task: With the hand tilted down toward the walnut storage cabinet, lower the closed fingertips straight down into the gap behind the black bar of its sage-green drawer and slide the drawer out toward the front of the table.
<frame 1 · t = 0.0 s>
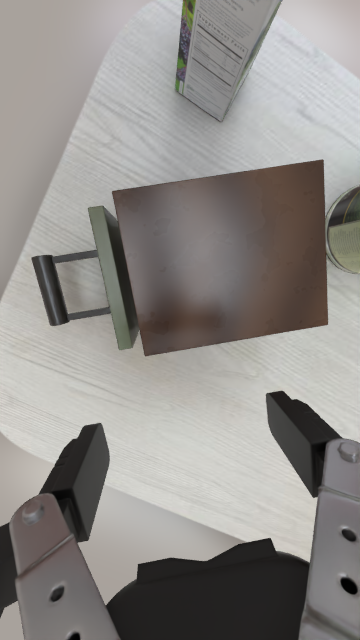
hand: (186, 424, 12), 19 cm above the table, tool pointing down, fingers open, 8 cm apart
syrup box: (212, 82, 25), on the table
cabinet: (207, 264, 29), on the table
drawer: (153, 274, 24), point 5 cm above the table, slide at 1.0 cm
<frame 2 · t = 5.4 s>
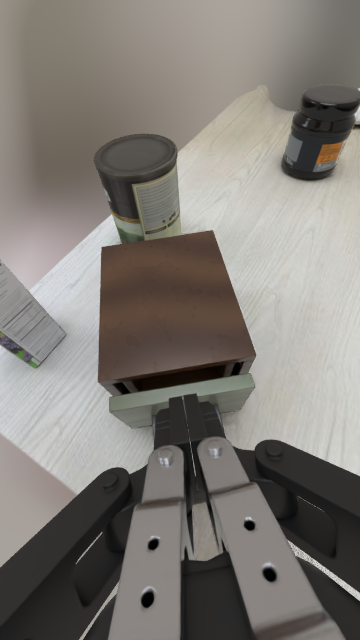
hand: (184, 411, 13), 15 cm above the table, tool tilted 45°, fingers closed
supplement container: (305, 169, 52), on the table
syrup box: (39, 342, 33), on the table
cabinet: (174, 339, 32), on the table
drawer: (178, 371, 25), point 5 cm above the table, slide at 1.0 cm
flower in vase: (354, 119, 63), on the table
coffee can: (153, 244, 42), on the table
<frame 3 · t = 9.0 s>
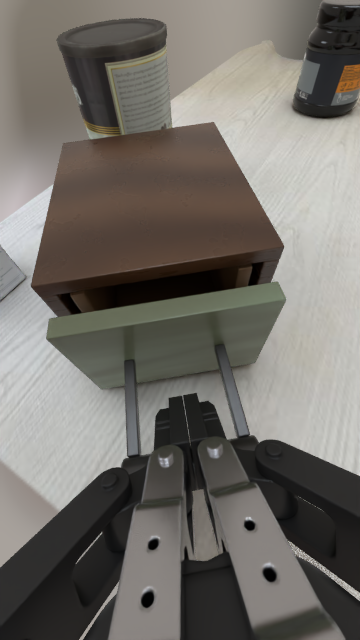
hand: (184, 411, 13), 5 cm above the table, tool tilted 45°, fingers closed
supplement container: (321, 108, 45), on the table
cabinet: (163, 280, 25), on the table
drawer: (166, 303, 17), point 5 cm above the table, slide at 1.4 cm, touching gripper
coffee can: (141, 182, 35), on the table
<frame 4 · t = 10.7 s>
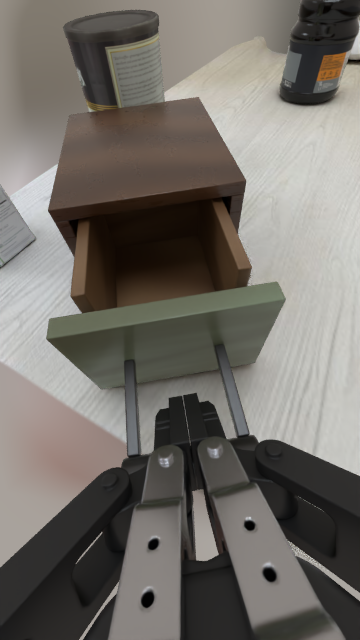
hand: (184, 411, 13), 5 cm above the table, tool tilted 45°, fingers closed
supplement container: (305, 97, 48), on the table
syrup box: (5, 247, 29), on the table
cabinet: (157, 239, 28), on the table
drawer: (166, 303, 17), point 5 cm above the table, slide at 7.7 cm, touching gripper
flower in vase: (356, 58, 59), on the table
coffee can: (138, 161, 39), on the table
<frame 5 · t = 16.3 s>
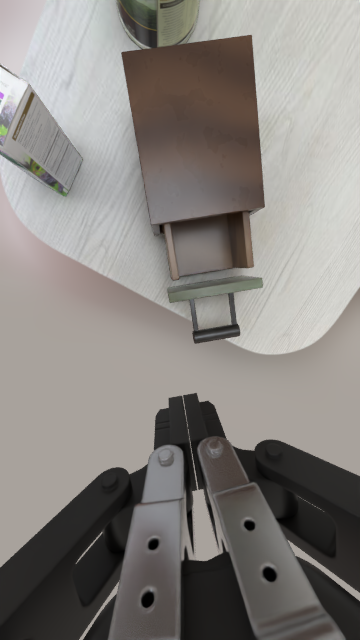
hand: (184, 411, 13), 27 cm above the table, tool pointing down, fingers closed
syrup box: (56, 167, 34), on the table
cabinet: (188, 171, 35), on the table
drawer: (206, 263, 33), point 5 cm above the table, slide at 7.8 cm
coffee can: (158, 7, 31), on the table
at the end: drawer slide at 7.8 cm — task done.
